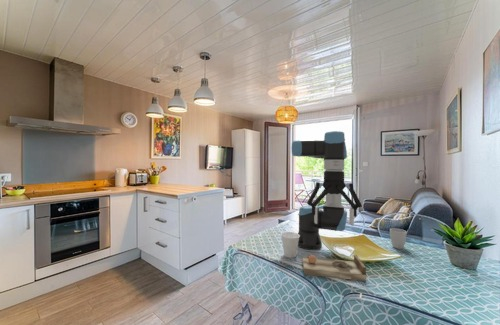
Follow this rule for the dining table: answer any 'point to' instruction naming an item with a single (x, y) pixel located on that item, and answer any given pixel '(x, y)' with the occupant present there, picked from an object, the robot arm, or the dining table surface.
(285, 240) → the cup
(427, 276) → the dining table surface
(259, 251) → the dining table surface
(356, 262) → the board
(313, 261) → the ball
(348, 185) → the robot arm
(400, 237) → the cup
